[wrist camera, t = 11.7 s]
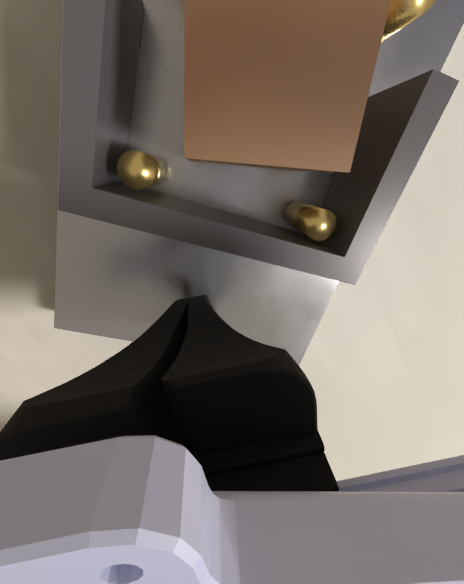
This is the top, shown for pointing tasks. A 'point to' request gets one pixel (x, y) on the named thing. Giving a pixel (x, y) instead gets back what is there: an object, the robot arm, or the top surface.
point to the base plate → (217, 201)
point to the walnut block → (278, 80)
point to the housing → (203, 219)
